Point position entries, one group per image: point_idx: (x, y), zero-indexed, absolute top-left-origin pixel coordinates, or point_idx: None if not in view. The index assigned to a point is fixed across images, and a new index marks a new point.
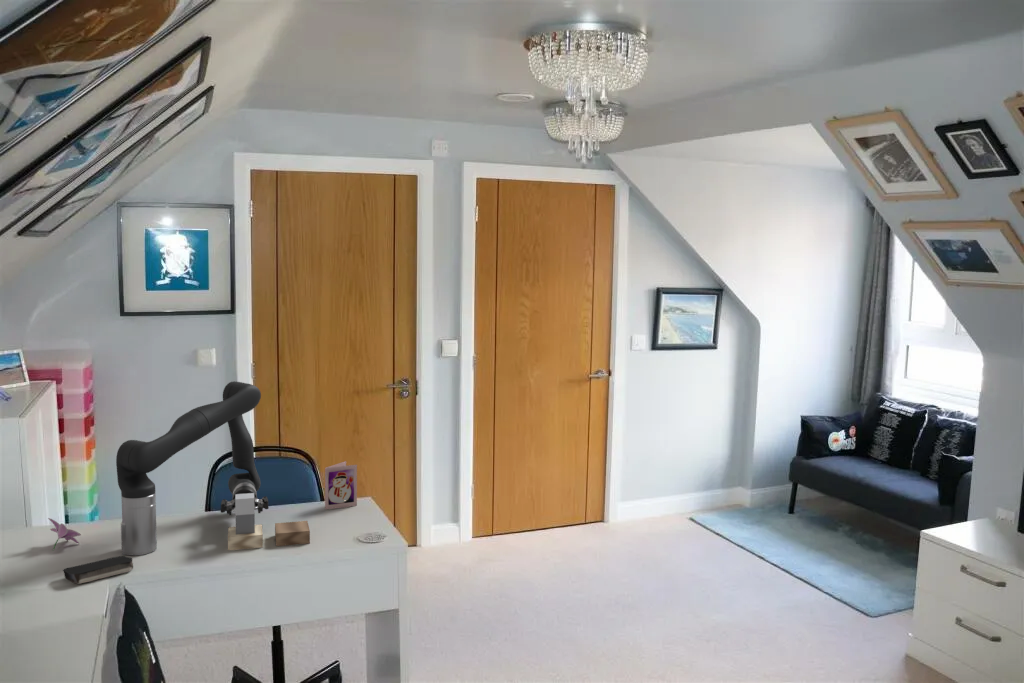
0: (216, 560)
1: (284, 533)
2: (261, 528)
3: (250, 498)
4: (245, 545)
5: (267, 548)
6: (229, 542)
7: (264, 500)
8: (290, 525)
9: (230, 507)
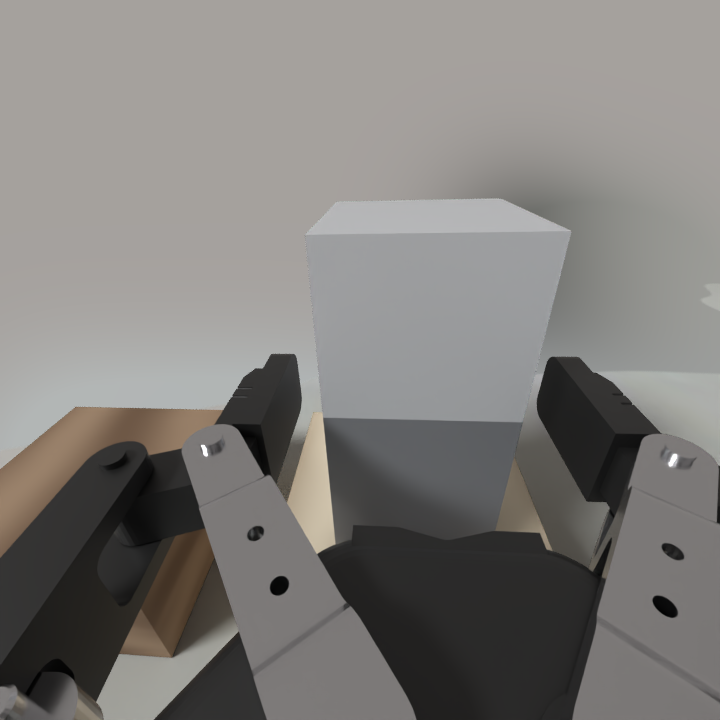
0: None
1: (201, 413)
2: (291, 503)
3: (369, 203)
4: None
5: (301, 450)
6: None
7: (110, 501)
8: None
9: (580, 376)
